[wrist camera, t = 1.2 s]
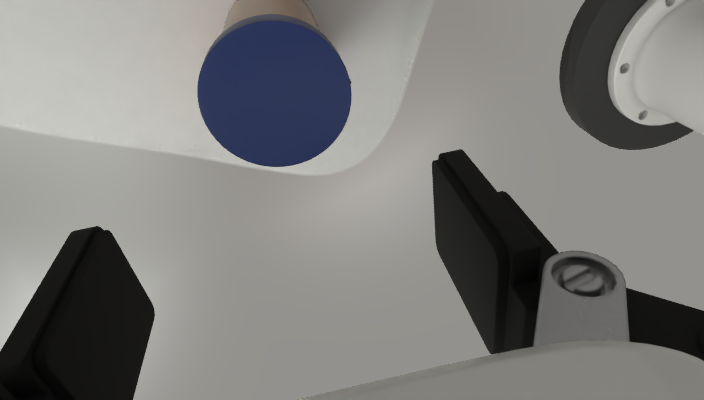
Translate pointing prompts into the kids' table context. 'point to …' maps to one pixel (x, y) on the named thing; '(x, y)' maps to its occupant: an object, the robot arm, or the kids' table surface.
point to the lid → (274, 90)
